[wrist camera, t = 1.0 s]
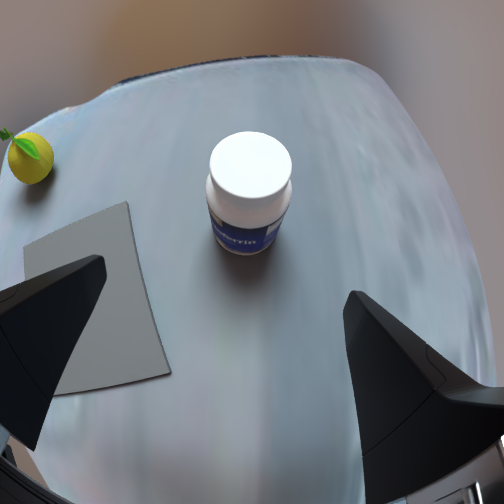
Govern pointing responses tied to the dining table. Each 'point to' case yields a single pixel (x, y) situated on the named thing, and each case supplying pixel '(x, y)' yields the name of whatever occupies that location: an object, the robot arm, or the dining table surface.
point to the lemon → (29, 156)
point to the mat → (105, 303)
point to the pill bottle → (248, 191)
